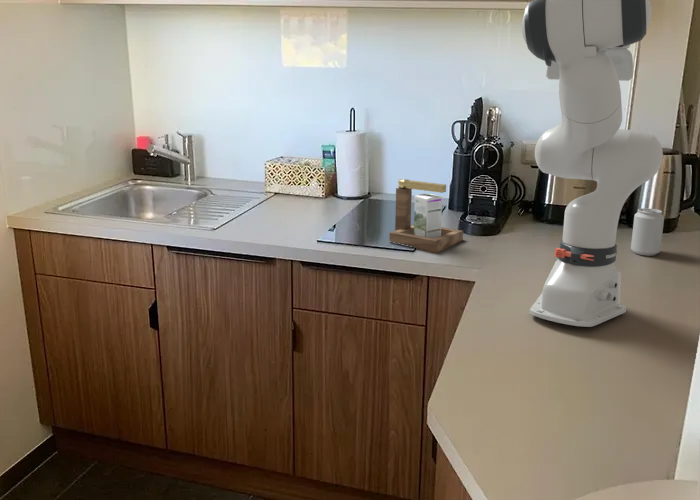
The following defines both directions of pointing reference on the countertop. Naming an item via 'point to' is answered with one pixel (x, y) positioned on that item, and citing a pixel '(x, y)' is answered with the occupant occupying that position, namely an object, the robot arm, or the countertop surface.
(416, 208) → the syrup box
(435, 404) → the countertop surface
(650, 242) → the can
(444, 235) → the holder
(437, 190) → the bar
